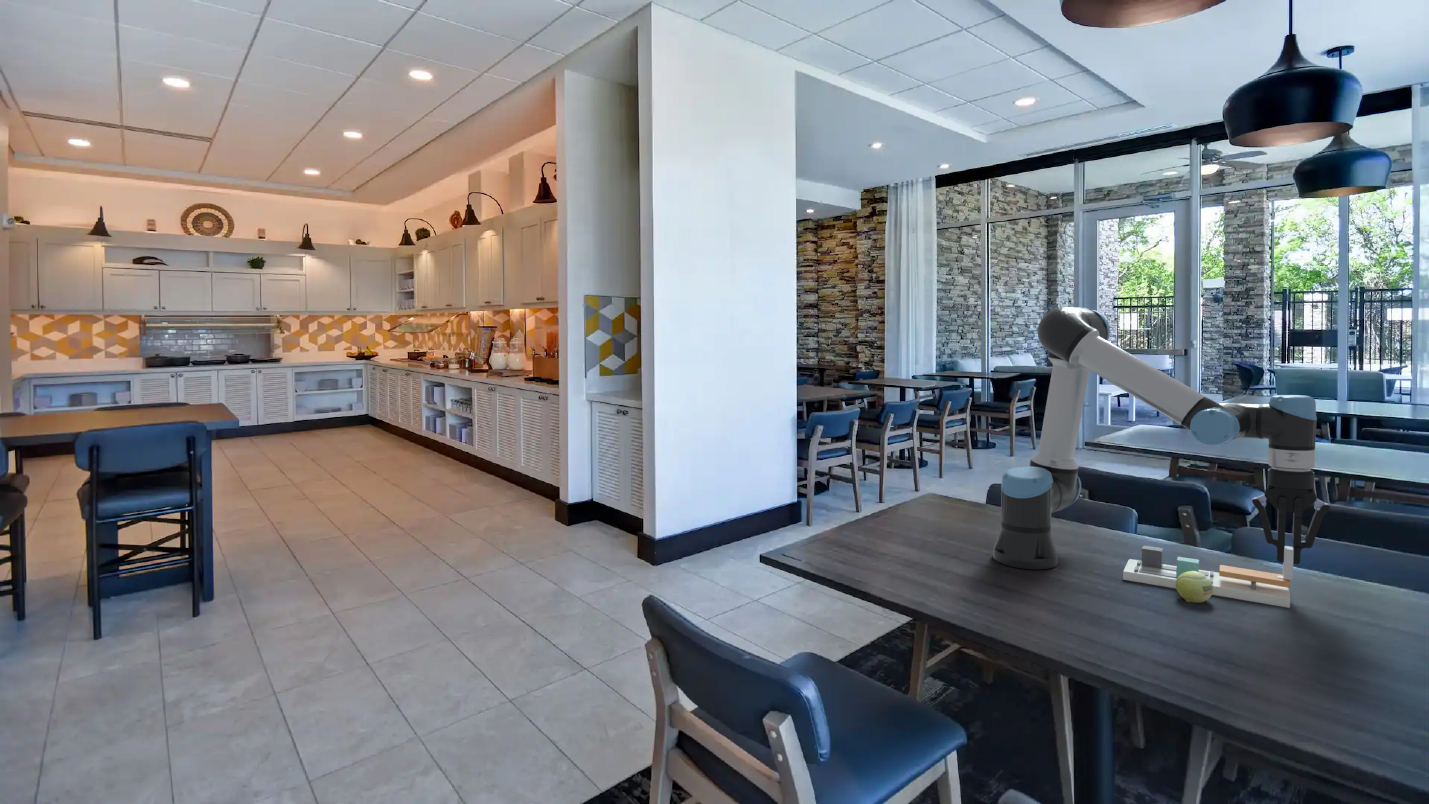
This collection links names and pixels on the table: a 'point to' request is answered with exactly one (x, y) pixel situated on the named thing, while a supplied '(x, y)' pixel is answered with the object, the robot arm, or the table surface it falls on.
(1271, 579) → the tan block
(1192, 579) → the tennis ball
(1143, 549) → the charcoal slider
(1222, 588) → the panel
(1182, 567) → the teal slider
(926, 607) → the table surface
